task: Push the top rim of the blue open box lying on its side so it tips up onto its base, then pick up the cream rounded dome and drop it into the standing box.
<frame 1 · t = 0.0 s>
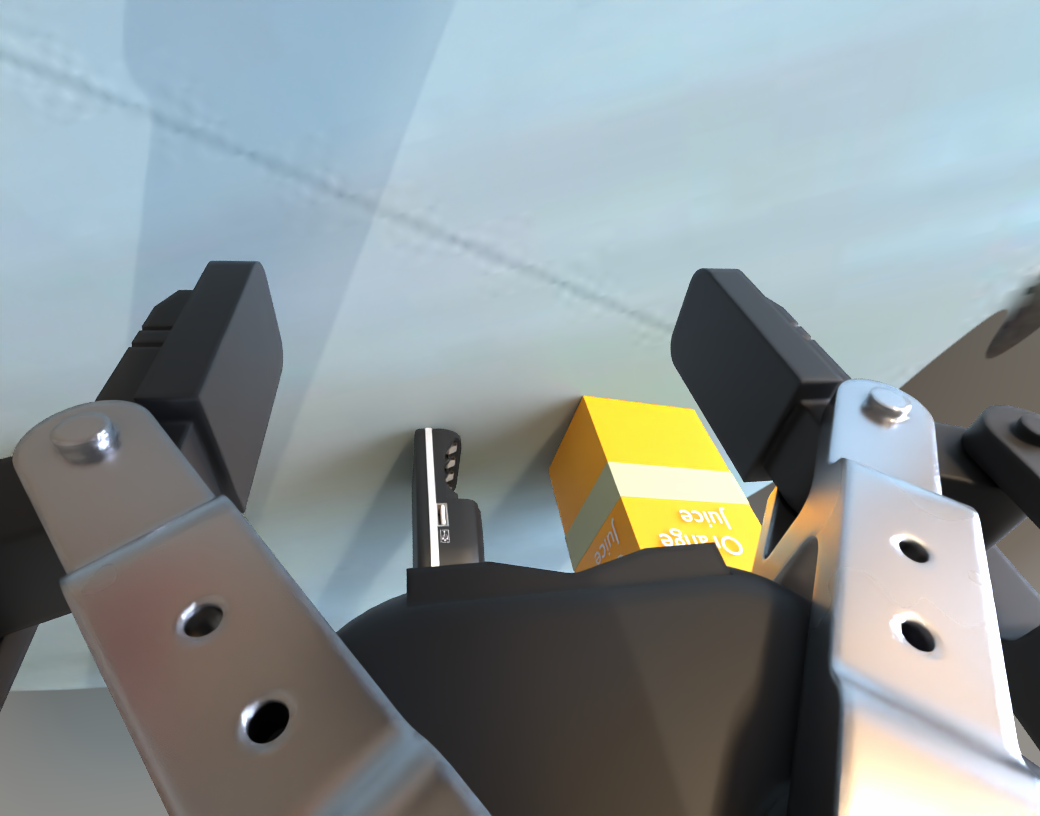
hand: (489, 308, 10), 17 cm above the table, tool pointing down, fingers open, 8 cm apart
battery charger: (440, 456, 38), on the table
orange juice: (618, 438, 40), on the table
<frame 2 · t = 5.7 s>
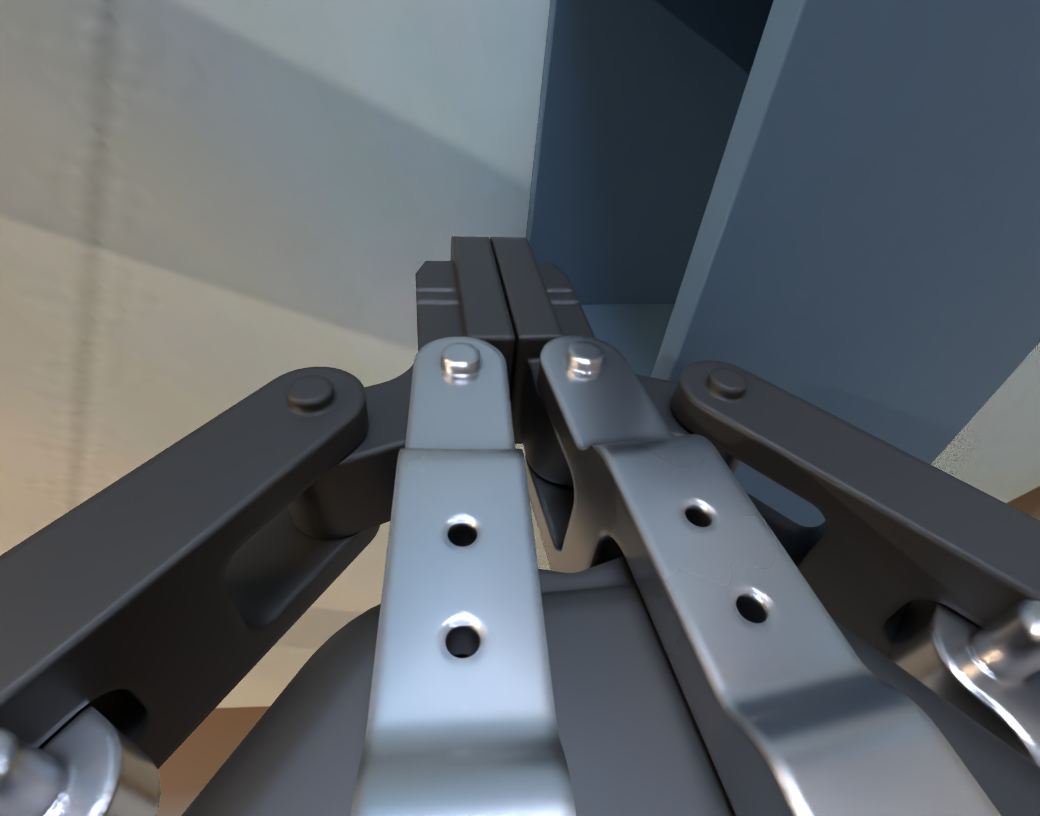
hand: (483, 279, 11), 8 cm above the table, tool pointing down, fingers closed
blue open box: (709, 232, 14), point 6 cm above the table, touching gripper
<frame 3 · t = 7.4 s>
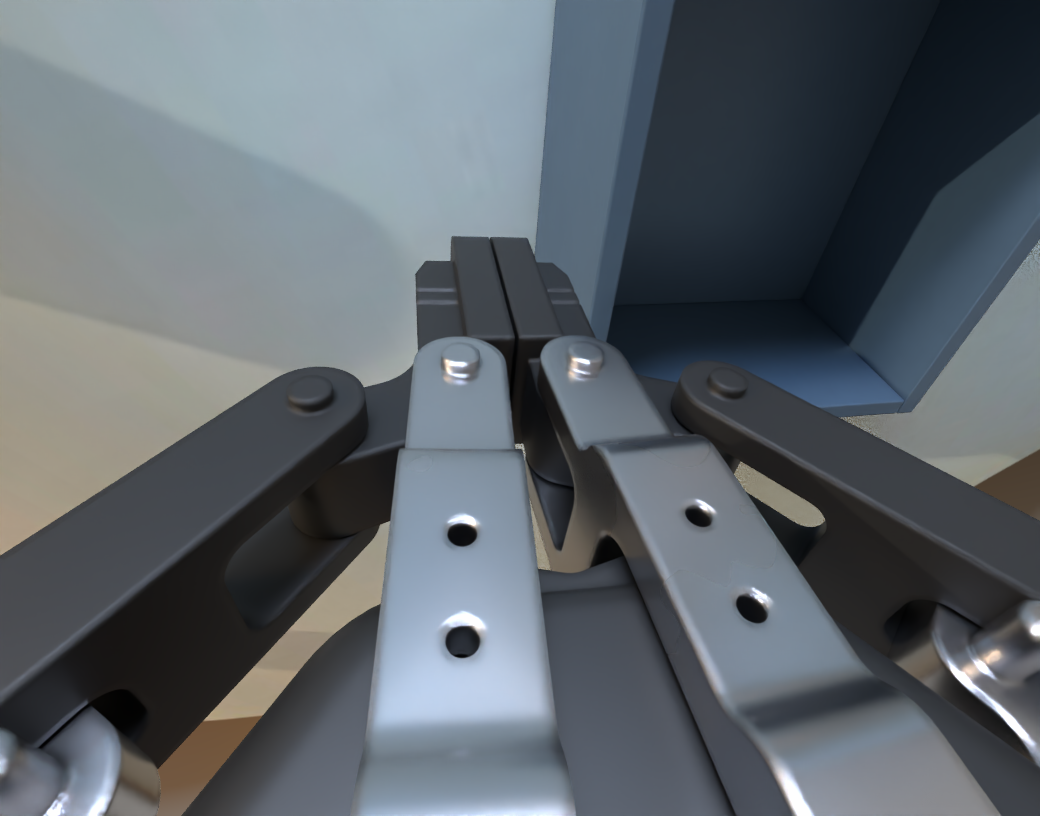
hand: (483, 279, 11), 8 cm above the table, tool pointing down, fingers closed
blue open box: (764, 196, 16), point 4 cm above the table, tilted 90°
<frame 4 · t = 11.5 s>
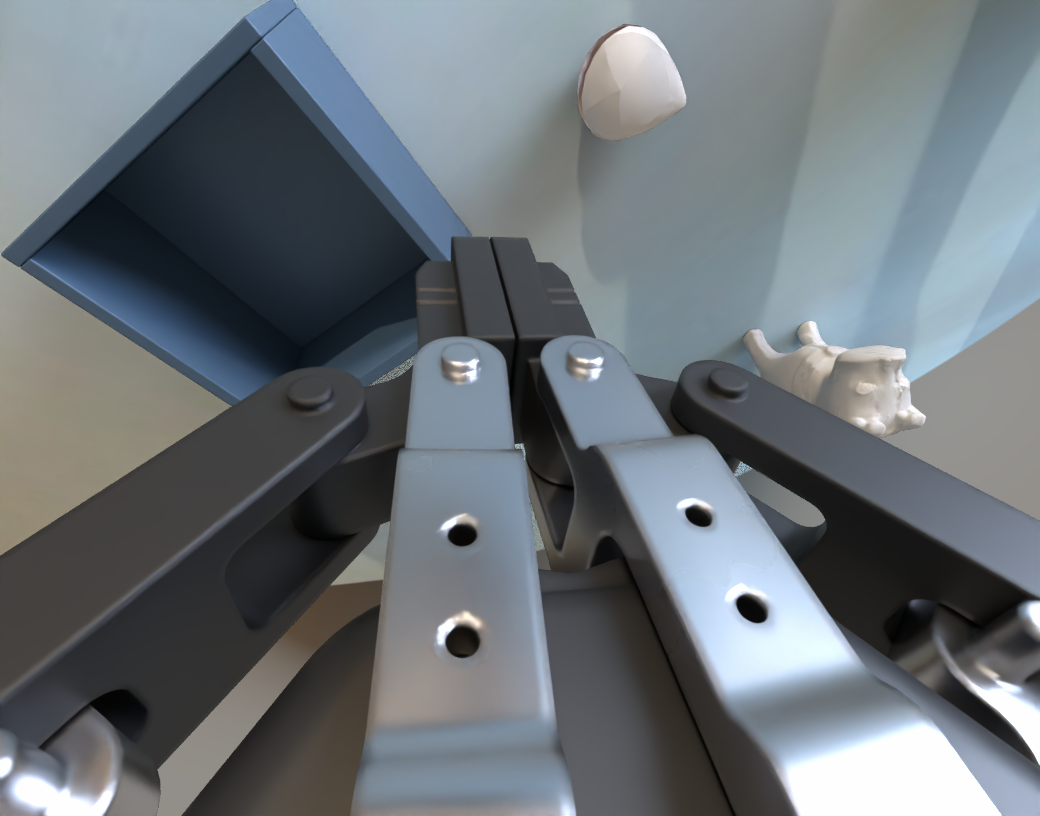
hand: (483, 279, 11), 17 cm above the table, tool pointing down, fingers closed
dog figurine: (766, 357, 37), on the table
blue open box: (284, 243, 23), point 3 cm above the table, tilted 90°
cream rounded dome: (625, 82, 24), on the table
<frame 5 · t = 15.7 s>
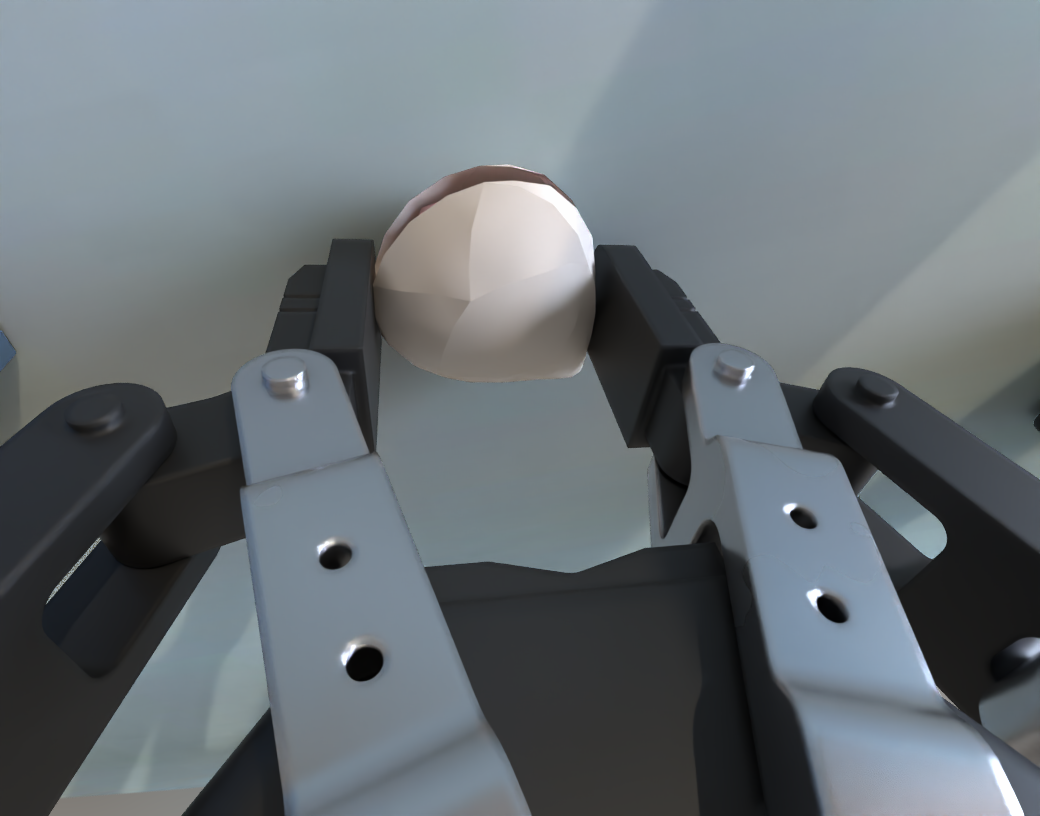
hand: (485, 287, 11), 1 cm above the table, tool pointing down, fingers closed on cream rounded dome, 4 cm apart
cream rounded dome: (496, 267, 12), on the table, touching gripper
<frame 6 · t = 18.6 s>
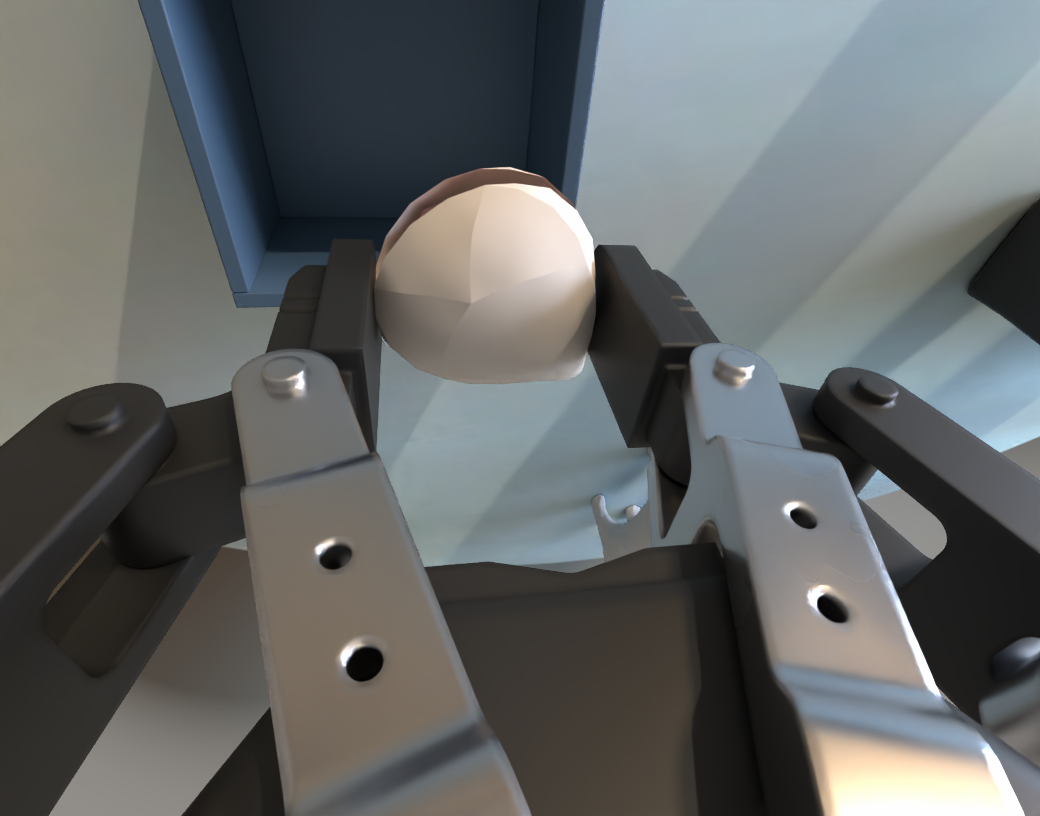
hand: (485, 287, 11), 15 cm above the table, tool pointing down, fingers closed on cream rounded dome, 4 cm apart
dog figurine: (651, 470, 41), on the table
blue open box: (395, 101, 19), point 3 cm above the table, tilted 90°
battery charger: (1020, 242, 32), on the table
cream rounded dome: (496, 269, 12), point 14 cm above the table, touching gripper
when the fingers open (5 cm above the table, at t = 21.7 s): cream rounded dome drops 4 cm, resting on blue open box.
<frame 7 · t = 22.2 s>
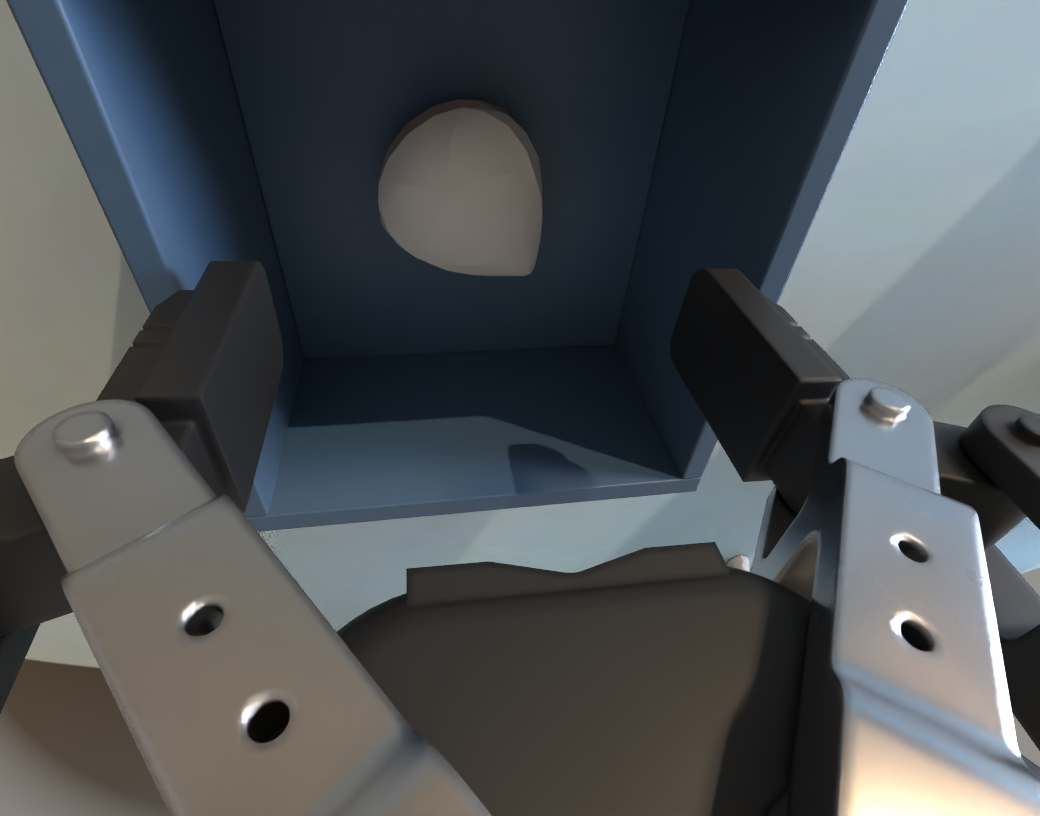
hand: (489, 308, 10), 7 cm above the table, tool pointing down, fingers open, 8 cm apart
blue open box: (476, 241, 13), point 3 cm above the table, tilted 90°, touching cream rounded dome
cream rounded dome: (470, 188, 15), resting on blue open box
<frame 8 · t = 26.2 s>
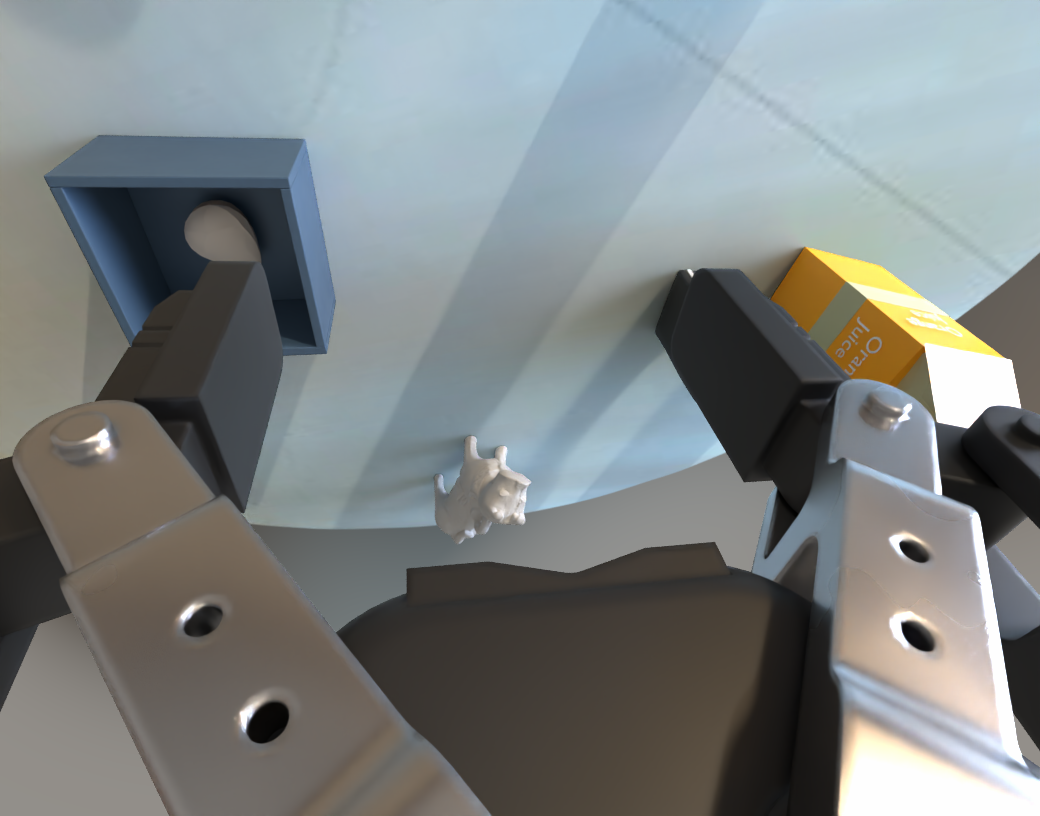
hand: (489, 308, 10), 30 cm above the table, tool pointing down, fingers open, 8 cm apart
dog figurine: (473, 456, 58), on the table
blue open box: (220, 252, 35), point 3 cm above the table, tilted 90°, touching cream rounded dome
battery charger: (682, 301, 48), on the table
orange juice: (816, 291, 50), on the table
cream rounded dome: (232, 229, 37), resting on blue open box
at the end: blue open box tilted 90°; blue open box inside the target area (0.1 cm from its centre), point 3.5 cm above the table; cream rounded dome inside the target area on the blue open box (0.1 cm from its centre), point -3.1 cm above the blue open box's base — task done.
